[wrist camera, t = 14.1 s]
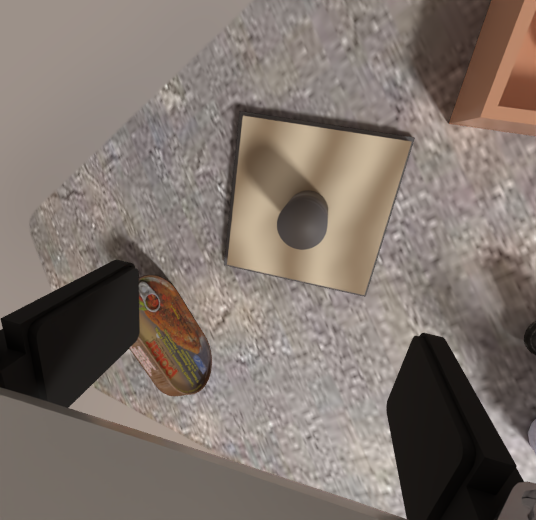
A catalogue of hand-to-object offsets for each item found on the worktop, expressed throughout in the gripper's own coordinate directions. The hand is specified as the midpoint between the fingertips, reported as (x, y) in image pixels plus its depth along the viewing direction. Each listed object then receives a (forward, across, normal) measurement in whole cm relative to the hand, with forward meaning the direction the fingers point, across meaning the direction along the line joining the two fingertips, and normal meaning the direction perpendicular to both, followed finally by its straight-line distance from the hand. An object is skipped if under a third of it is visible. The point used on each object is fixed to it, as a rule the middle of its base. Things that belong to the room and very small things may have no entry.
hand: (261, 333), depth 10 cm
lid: (+22, 0, 0) cm, 22 cm away
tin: (+23, +14, +17) cm, 31 cm away
